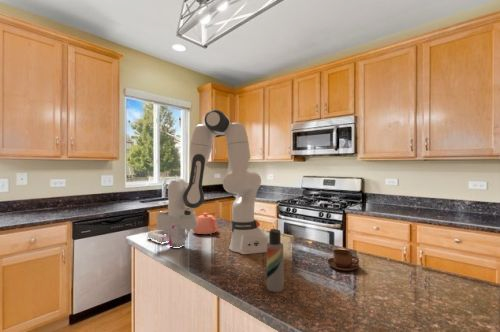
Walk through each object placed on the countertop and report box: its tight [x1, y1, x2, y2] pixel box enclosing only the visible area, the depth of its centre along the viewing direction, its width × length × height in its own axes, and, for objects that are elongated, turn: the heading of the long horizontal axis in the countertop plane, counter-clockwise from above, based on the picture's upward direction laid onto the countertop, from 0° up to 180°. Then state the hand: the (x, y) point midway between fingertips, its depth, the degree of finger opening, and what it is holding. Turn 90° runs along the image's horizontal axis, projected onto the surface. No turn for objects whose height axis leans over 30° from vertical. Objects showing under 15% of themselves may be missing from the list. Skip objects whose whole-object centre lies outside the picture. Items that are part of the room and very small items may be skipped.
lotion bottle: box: [266, 228, 285, 293], centre depth 88 cm, size 6×6×20 cm
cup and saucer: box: [327, 248, 360, 272], centre depth 106 cm, size 12×12×6 cm
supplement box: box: [168, 226, 186, 247], centre depth 133 cm, size 6×6×12 cm
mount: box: [147, 229, 187, 243], centre depth 147 cm, size 15×15×5 cm
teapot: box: [192, 212, 219, 235], centre depth 160 cm, size 22×16×12 cm
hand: (177, 237), depth 133 cm, fingers closed on supplement box, 8 cm apart
